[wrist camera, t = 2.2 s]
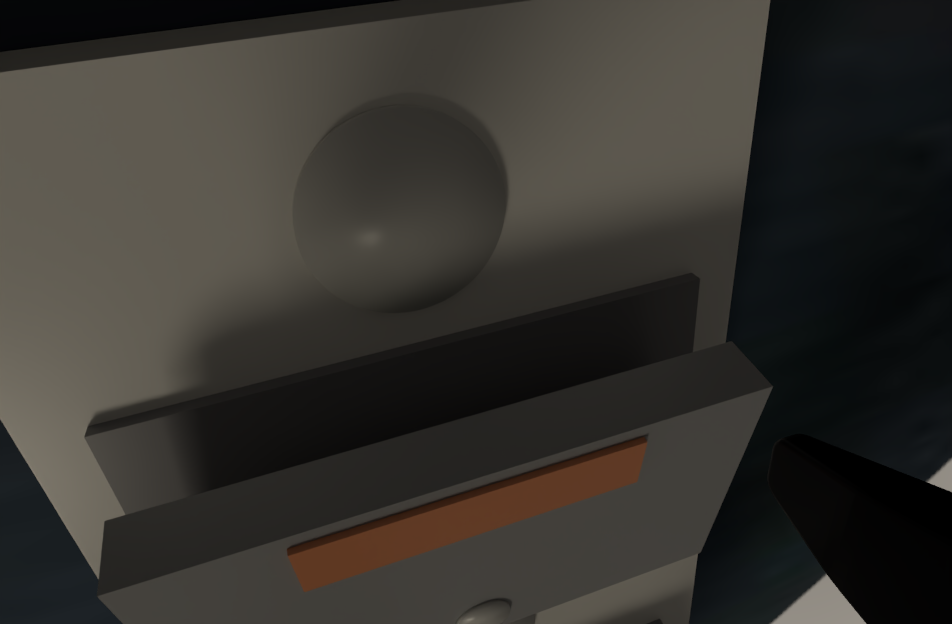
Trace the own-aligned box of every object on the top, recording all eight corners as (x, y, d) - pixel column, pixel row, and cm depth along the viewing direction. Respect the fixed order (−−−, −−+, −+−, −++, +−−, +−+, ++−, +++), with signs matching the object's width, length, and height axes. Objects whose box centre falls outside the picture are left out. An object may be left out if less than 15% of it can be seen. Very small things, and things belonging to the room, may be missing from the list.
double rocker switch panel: (629, 720, 29) (670, 801, 26) (316, 853, 26) (326, 961, 23) (674, -36, 13) (786, -33, 11) (-91, 64, 10) (-210, 104, 8)
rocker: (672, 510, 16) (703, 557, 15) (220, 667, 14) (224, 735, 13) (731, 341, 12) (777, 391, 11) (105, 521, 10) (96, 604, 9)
